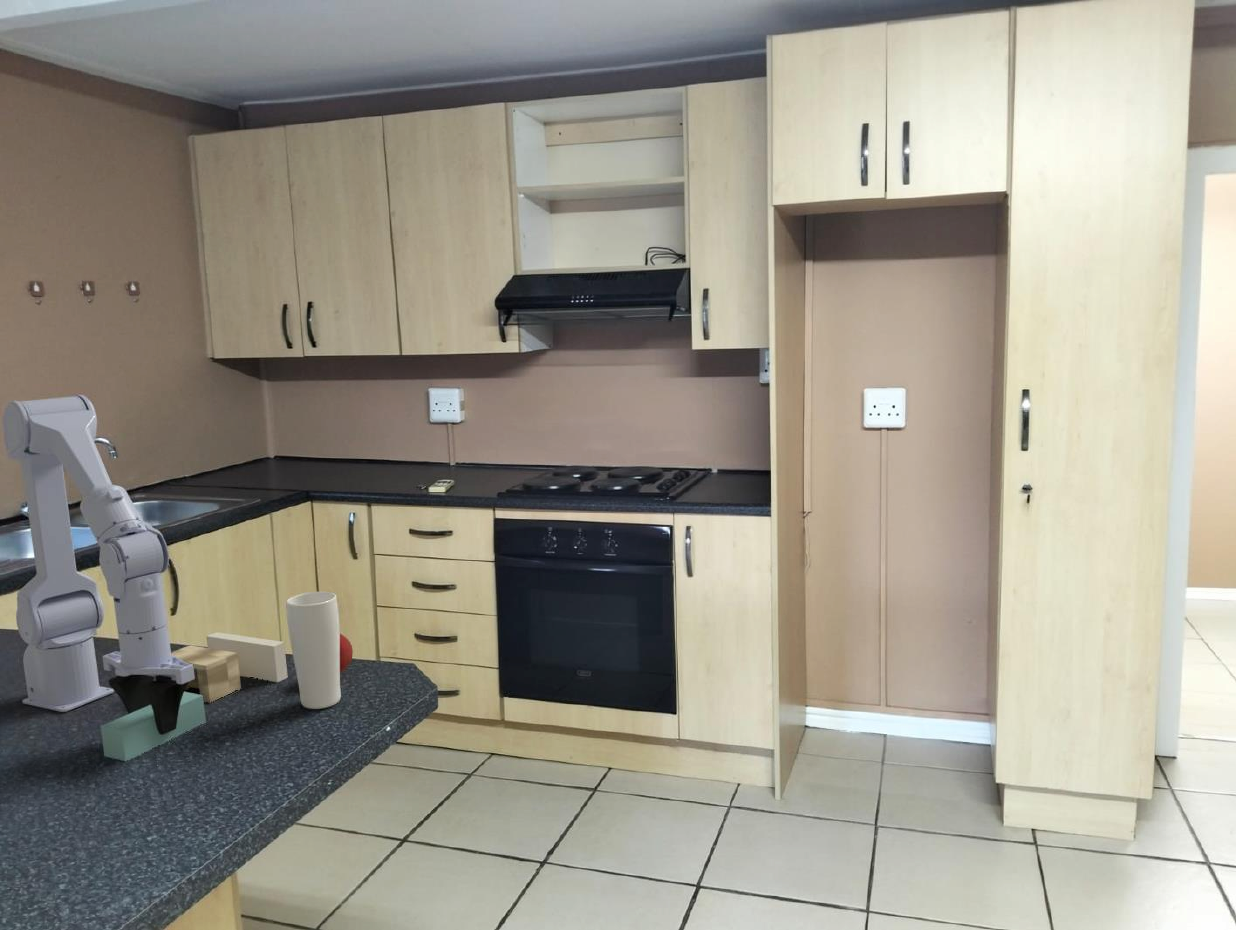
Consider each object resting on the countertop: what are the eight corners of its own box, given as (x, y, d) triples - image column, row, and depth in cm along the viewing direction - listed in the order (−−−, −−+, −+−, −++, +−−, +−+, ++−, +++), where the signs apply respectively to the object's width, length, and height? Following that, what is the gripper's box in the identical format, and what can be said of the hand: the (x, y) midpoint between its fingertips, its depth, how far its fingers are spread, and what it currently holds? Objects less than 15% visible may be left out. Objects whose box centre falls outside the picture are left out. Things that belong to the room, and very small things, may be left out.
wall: (210, 670, 152) (206, 636, 151) (220, 666, 154) (216, 632, 153) (277, 682, 146) (273, 646, 145) (287, 677, 148) (284, 642, 147)
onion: (343, 686, 143) (338, 633, 142) (306, 685, 144) (301, 632, 143) (361, 671, 149) (356, 620, 148) (325, 670, 150) (321, 619, 149)
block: (162, 694, 143) (157, 657, 142) (193, 680, 148) (189, 645, 147) (210, 703, 139) (206, 665, 138) (241, 689, 144) (237, 652, 143)
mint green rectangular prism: (104, 756, 123) (100, 726, 123) (185, 719, 134) (181, 691, 133) (125, 761, 122) (121, 731, 121) (206, 723, 132) (202, 695, 131)
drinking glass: (308, 717, 133) (297, 608, 130) (287, 703, 138) (277, 599, 135) (355, 702, 137) (345, 597, 135) (333, 689, 142) (323, 588, 140)
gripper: (76, 630, 125) (89, 732, 127) (154, 643, 119) (167, 750, 121) (125, 614, 131) (138, 711, 133) (202, 625, 125) (214, 727, 127)
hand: (155, 728), depth 127 cm, fingers closed on mint green rectangular prism, 4 cm apart
